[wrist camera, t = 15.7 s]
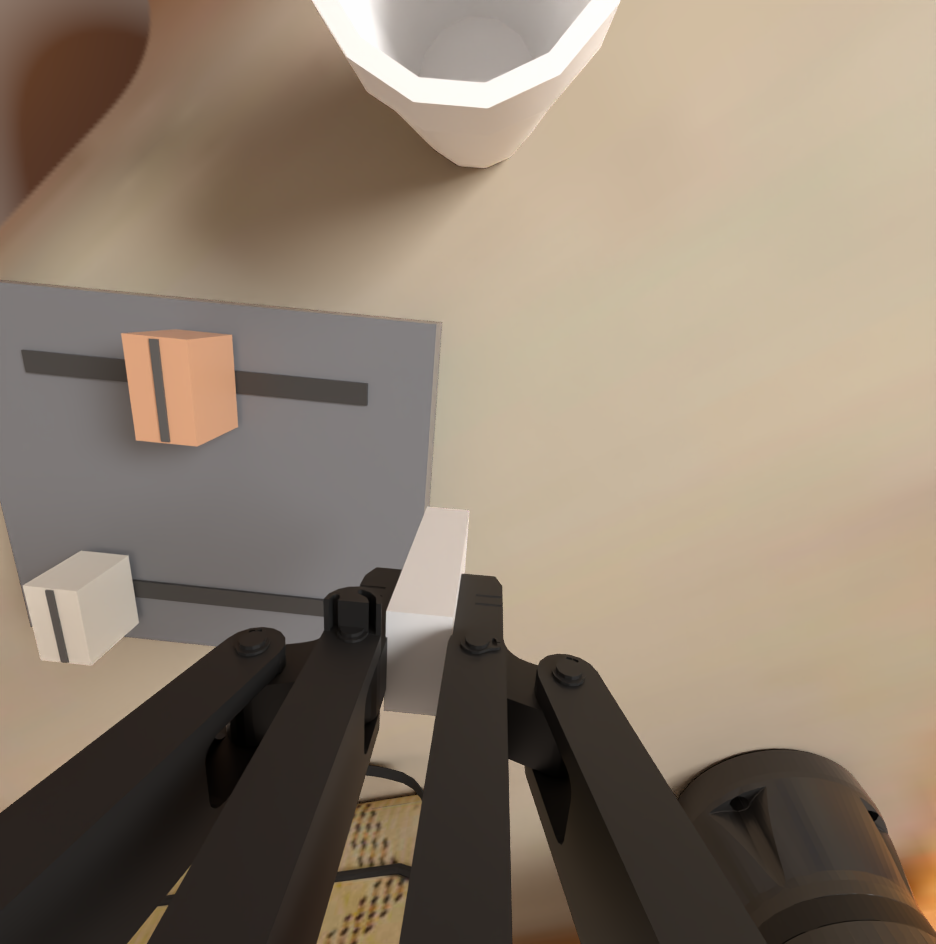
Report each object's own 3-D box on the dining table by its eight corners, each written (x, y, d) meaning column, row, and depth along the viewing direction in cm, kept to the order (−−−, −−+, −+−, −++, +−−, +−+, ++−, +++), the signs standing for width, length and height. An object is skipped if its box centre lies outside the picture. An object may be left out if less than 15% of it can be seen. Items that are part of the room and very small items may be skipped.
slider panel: (420, 638, 35) (413, 669, 32) (67, 601, 36) (28, 628, 33) (442, 322, 28) (436, 324, 25) (0, 279, 28) (-59, 276, 25)
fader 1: (138, 622, 32) (90, 666, 28) (94, 618, 32) (39, 661, 28) (128, 555, 30) (75, 592, 26) (81, 550, 30) (20, 586, 26)
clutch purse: (440, 737, 38) (410, 990, 24) (463, 800, 40) (448, 1067, 26) (112, 793, 42) (-81, 1041, 28) (149, 848, 44) (-13, 1104, 30)
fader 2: (238, 426, 27) (196, 447, 23) (185, 421, 27) (134, 441, 23) (232, 334, 26) (185, 339, 22) (175, 329, 26) (119, 333, 22)
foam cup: (576, 187, 26) (656, 77, 13) (404, 216, 26) (329, 137, 14) (562, -43, 23) (648, -459, 10) (369, -3, 23) (234, -345, 11)
